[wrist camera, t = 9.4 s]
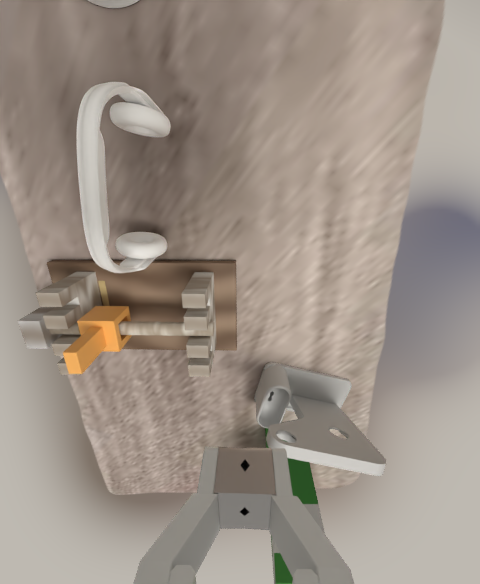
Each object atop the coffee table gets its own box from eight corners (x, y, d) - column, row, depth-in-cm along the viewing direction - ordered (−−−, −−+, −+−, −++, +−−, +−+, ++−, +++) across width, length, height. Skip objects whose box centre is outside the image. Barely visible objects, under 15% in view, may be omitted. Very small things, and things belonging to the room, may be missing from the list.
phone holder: (251, 399, 54) (252, 496, 37) (264, 359, 50) (273, 446, 34) (333, 417, 55) (370, 519, 38) (352, 378, 51) (403, 472, 35)
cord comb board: (53, 260, 44) (-3, 281, 34) (235, 260, 43) (232, 282, 34) (75, 343, 50) (33, 382, 40) (236, 345, 49) (233, 385, 39)
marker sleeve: (95, 305, 41) (46, 345, 31) (128, 306, 41) (89, 346, 31) (102, 333, 43) (56, 379, 33) (133, 333, 42) (97, 380, 32)
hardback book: (299, 481, 62) (327, 645, 40) (267, 481, 63) (278, 645, 41) (300, 424, 56) (335, 583, 34) (265, 425, 56) (276, 583, 34)
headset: (174, 256, 43) (129, 301, 27) (130, 250, 43) (57, 291, 27) (180, 111, 36) (123, 50, 19) (127, 103, 36) (23, 34, 19)
